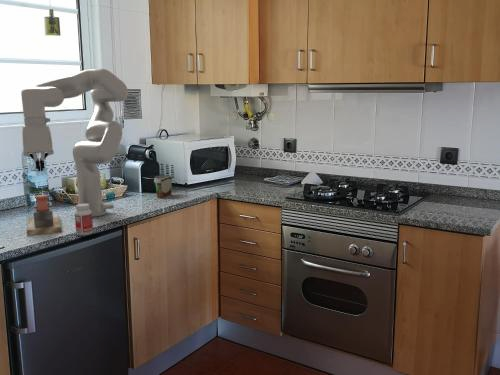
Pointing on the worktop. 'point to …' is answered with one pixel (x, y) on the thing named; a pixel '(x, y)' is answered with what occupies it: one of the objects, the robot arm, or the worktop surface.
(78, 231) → the pill bottle
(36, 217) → the board
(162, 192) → the food container
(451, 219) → the worktop surface
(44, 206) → the red plug
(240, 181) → the worktop surface
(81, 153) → the robot arm
